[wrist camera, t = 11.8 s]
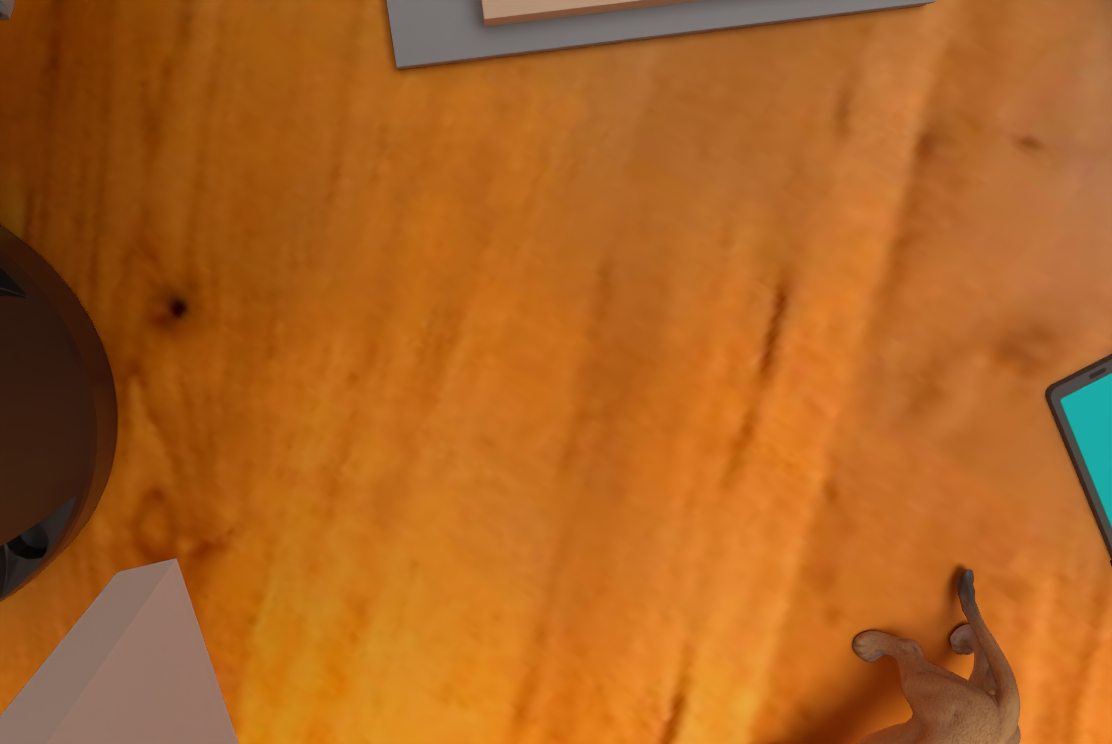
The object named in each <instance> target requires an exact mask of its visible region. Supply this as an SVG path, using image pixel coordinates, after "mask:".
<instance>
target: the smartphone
mask: <svg viewBox="0 0 1112 744" xmlns="http://www.w3.org/2000/svg"><path fill="white" fill-rule="evenodd" d="M1045 396H1046V399H1047V402H1048V404H1049V406H1050V409H1051V411H1052V414H1053V416H1054V419H1055V421H1056V424H1057V426H1058V428H1059V431H1060V433H1061V436H1062V438H1063V441H1064V443H1065V446H1066V448H1067V451H1068V453H1069V455H1070V458H1071V460H1072V463H1073V465H1074V468H1075V470H1076V473H1077V475H1078V477H1079V480H1080V482H1081V485H1082V487H1083V490H1084V492H1085V495H1086V497H1087V500H1088V502H1089V504H1090V507H1091V509H1092V512H1093V514H1094V517H1095V519H1096V522H1097V524H1098V526H1099V529H1100V531H1101V534H1102V536H1103V539H1104V541H1105V544H1106V546H1107V548H1108V551H1109V553H1110V556H1111V558H1112V354H1111V355H1109V356H1107V357H1105V358H1103V359H1101V360H1099V361H1097V362H1095V363H1093V364H1091V365H1089V366H1087V367H1085V368H1083V369H1081V370H1079V371H1077V372H1076V373H1074V374H1072V375H1070V376H1068V377H1066V378H1064V379H1062V380H1060V381H1058V382H1056V383H1054V384H1052V385H1050V386H1049V387H1048V388H1047V390H1046V395H1045ZM1110 562H1111V565H1112V560H1111V561H1110Z"/></svg>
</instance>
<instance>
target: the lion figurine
mask: <svg viewBox="0 0 1112 744" xmlns="http://www.w3.org/2000/svg"><path fill="white" fill-rule="evenodd" d="M973 582H974V575H973V572H972V570H970V569H966V570H965V571H964V573H963V574H962V576H961V577H960V578H959V579H958V582H957V588H958V596H959V599H960V603H961V607H962V610H963V612H964V614H965V616H966V618H967V620H968V622H969V624H966V625H963V626H961V627H959V628H958V629H956V630H955V631H954V633H953V634H952V635H951V637H950V642H951V646H952V649H953V651H954V652H955V653H956V654H960V655H961V654H965V655H969V654H971V653H974V667H973V671H972V673H971V675H970V678H969V680H966V679H964V678H962V677H961V676H959V675H956V674H955V673H953V672H950V671H948V670H946V669H944V668H941V667H939V666H937V665H935V664H933V663H931V662H929V661H928V660H927V659H926V658H925V657H924V655H923V653H922V650H921V647H920V645H919V644H918V643H917V642H916V641H915V640H911V639H906V638H900V637H895V636H892V635H888V634H886V633H883V632H880V631H867V632H864V633H861V634H860V635H858V636H857V637H856V638H855V640H854V643H853V649H854V651H855V652H856V653H857V655H858V656H859V657H861V658H862V659H863V660H865V661H866V662H874V661H876V660H877V659H879V658H880V657H881V656H883V655H884V654H888V655H891V656H892V657H894V659H895V660H896V661H897V663H898V668H899V673H900V680H901V689H902V692H903V694H904V696H905V698H906V699H907V701H908V703H909V704H910V706H911V709H912V711H913V715H912V718H911V719H910V720H908V721H907V722H906V723H902V724H897V725H894V726H891V727H887V728H884V729H882V730H879V731H877V732H874V733H871V734H869V735H868V736H866V737H865V738H864V739H862V740H861V741H860V742H858V743H857V744H1019V742H1020V738H1021V734H1020V729H1019V726H1018V720H1019V715H1020V700H1019V693H1018V688H1017V684H1016V680H1015V677H1014V675H1013V672H1012V670H1011V667H1010V665H1009V663H1008V661H1007V659H1006V658H1005V656H1004V654H1003V652H1002V651H1001V649H1000V647H999V645H998V644H997V642H996V640H995V639H994V637H993V636H992V634H991V633H990V631H989V630H988V628H987V627H986V625H985V623H984V621H983V619H982V617H981V615H980V612H979V609H978V607H977V604H976V602H975V589H974V586H973Z"/></svg>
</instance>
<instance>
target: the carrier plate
mask: <svg viewBox="0 0 1112 744" xmlns="http://www.w3.org/2000/svg"><path fill="white" fill-rule="evenodd" d="M386 1H387V7H388V14H389V20H390V27H391V34H392V40H393V47H394V53H395V60H396V66H397V68H398V69H399V70H401V69H409V68H417V67H425V66H433V65H442V64H450V63H458V62H466V61H474V60H482V59H491V58H499V57H507V56H515V55H523V54H532V53H540V52H548V51H556V50H564V49H572V48H581V47H589V46H597V45H605V44H613V43H622V42H630V41H638V40H646V39H654V38H662V37H671V36H679V35H687V34H695V33H703V32H712V31H720V30H728V29H736V28H744V27H752V26H761V25H769V24H777V23H785V22H793V21H802V20H810V19H818V18H826V17H834V16H842V15H851V14H859V13H867V12H875V11H883V10H892V9H900V8H908V7H916V6H924V5H927V4H930V3H933V2H936V0H386Z"/></svg>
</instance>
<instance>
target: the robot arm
mask: <svg viewBox="0 0 1112 744" xmlns="http://www.w3.org/2000/svg"><path fill="white" fill-rule="evenodd" d="M14 6H15V0H0V20H9V19H10V16H11V14H12V12H13V10H14ZM116 431H117V411H116V400H115V391H114V386H113V381H112V376H111V372H110V368H109V365H108V361H107V358H106V355H105V353H104V350H103V347H102V344H101V342H100V340H99V337H98V335H97V333H96V331H95V329H94V327H93V325H92V323H91V321H90V319H89V317H88V315H87V314H86V312H85V311H84V309H83V307H82V306H81V304H80V302H79V301H78V299H77V298H76V297H75V295H74V294H73V293H72V291H71V290H70V288H69V287H68V286H67V285H66V283H65V282H64V281H63V280H62V279H61V277H60V276H59V275H58V274H57V273H56V272H55V271H54V270H53V269H52V267H51V266H50V265H49V264H48V263H47V262H46V261H45V260H44V259H43V258H42V257H40V256H39V255H38V254H37V253H36V252H35V251H34V250H33V249H32V248H30V247H29V246H28V245H27V244H25V243H24V242H23V241H22V240H20V239H19V238H18V237H17V236H15V235H14V234H12V233H11V232H9V231H8V230H6V229H5V228H4V227H2V226H0V602H1V601H3V600H5V599H6V598H8V597H10V596H11V595H13V594H14V593H16V592H17V591H18V590H20V589H21V588H23V587H24V586H25V585H26V584H28V583H29V582H30V581H31V580H32V579H34V578H35V577H36V576H37V575H38V574H39V573H40V572H41V571H42V570H43V569H45V568H46V567H47V566H48V565H49V564H50V563H51V562H52V561H53V560H54V559H55V558H56V557H57V556H58V555H59V554H60V553H61V552H62V551H63V550H64V549H65V548H66V547H67V546H69V544H70V543H71V542H72V541H73V540H74V539H75V537H76V536H77V535H78V534H79V532H80V531H81V530H82V528H83V527H84V526H85V524H86V523H87V521H88V520H89V518H90V516H91V515H92V513H93V511H94V510H95V508H96V506H97V504H98V502H99V500H100V498H101V496H102V493H103V491H104V488H105V486H106V483H107V480H108V477H109V473H110V470H111V466H112V461H113V457H114V451H115V443H116ZM0 744H238V740H237V737H236V734H235V731H234V728H233V725H232V722H231V719H230V716H229V713H228V710H227V707H226V704H225V701H224V698H223V696H222V693H221V690H220V687H219V684H218V681H217V678H216V675H215V672H214V669H213V666H212V663H211V660H210V657H209V654H208V651H207V648H206V645H205V642H204V639H203V636H202V633H201V630H200V627H199V624H198V621H197V618H196V615H195V612H194V609H193V606H192V603H191V600H190V597H189V594H188V591H187V588H186V585H185V582H184V579H183V576H182V573H181V570H180V567H179V564H178V561H177V558H175V559H171V560H167V561H162V562H158V563H154V564H150V565H145V566H141V567H137V568H133V569H128V570H124V571H120V572H117V573H116V574H115V576H114V577H113V578H112V579H111V580H110V582H109V583H108V584H107V585H106V587H105V588H104V589H103V590H102V592H101V593H100V594H99V595H98V596H97V598H96V599H95V600H94V601H93V603H92V604H91V605H90V606H89V608H88V609H87V610H86V611H85V612H84V614H83V615H82V616H81V617H80V619H79V620H78V621H77V622H76V623H75V625H74V626H73V627H72V628H71V630H70V631H69V632H68V633H67V635H66V636H65V637H64V638H63V639H62V641H61V642H60V643H59V644H58V646H57V647H56V648H55V649H54V650H53V652H52V653H51V654H50V655H49V657H48V658H47V659H46V660H45V662H44V663H43V664H42V665H41V666H40V668H39V669H38V670H37V671H36V673H35V674H34V675H33V676H32V678H31V679H30V680H29V681H28V682H27V684H26V685H25V686H24V687H23V689H22V690H21V691H20V692H19V693H18V695H17V696H16V697H15V698H14V700H13V701H12V702H11V703H10V705H9V706H8V707H7V708H6V709H5V711H4V712H3V713H2V714H1V716H0Z"/></svg>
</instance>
